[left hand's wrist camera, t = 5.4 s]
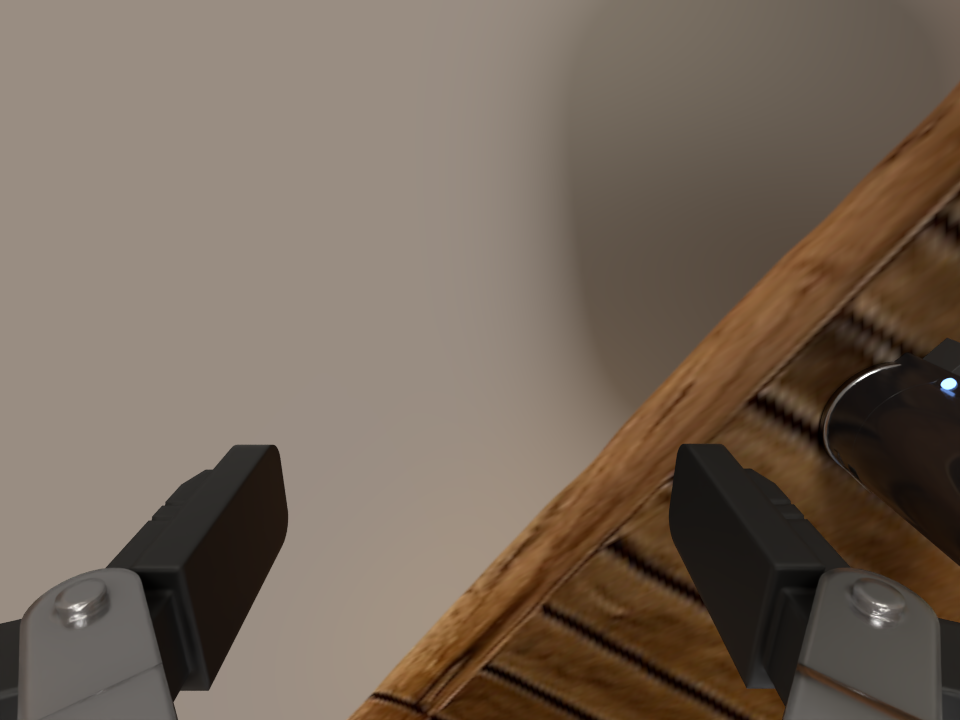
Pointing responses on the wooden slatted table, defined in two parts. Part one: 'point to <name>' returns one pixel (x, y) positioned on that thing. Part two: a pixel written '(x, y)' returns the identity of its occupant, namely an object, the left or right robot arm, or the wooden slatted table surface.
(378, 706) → the wooden slatted table surface
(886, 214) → the wooden slatted table surface
